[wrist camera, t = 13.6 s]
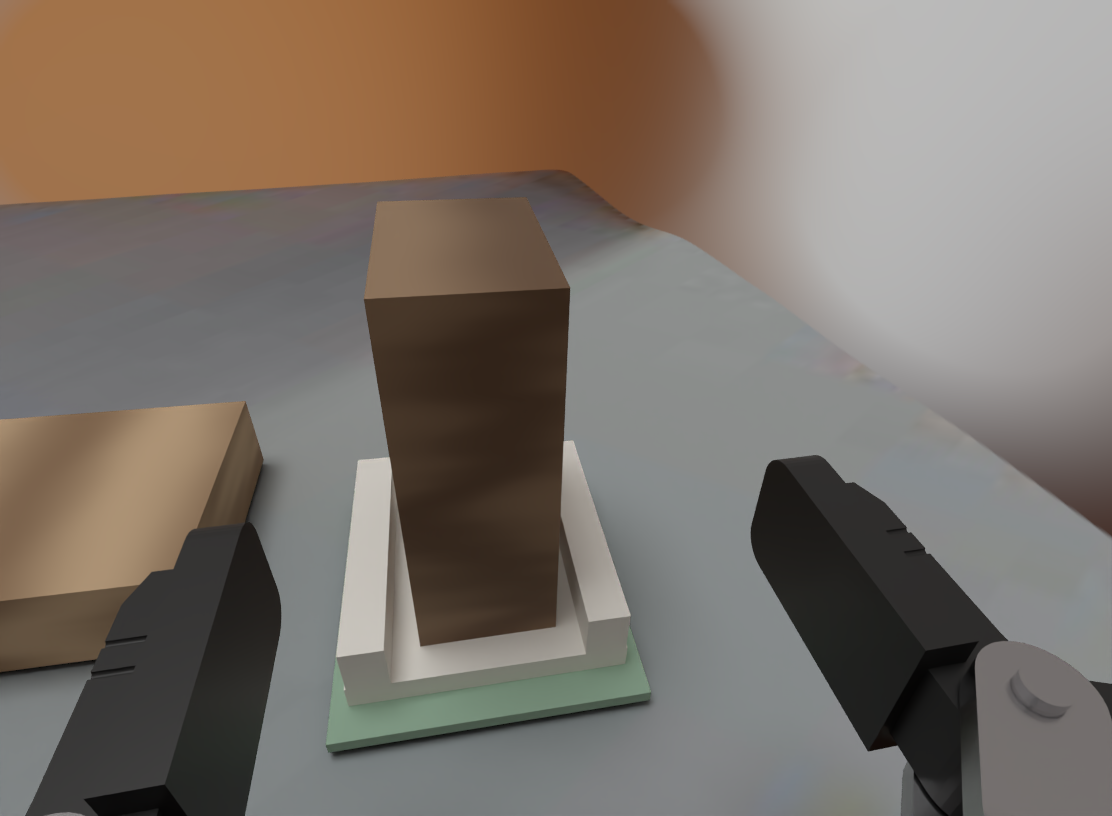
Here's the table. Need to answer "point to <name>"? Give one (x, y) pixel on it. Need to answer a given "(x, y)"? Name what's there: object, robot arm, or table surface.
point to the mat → (482, 704)
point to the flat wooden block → (107, 514)
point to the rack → (410, 670)
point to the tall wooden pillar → (472, 408)
